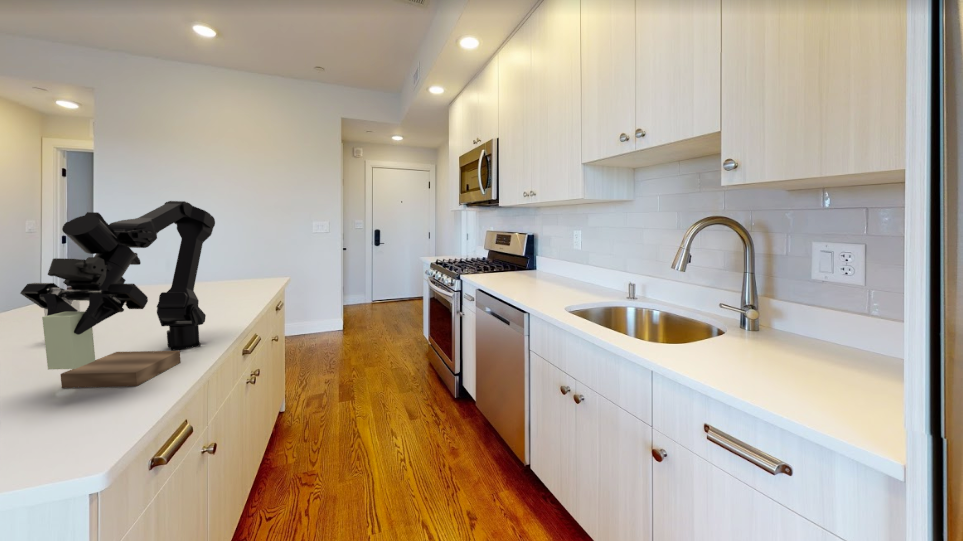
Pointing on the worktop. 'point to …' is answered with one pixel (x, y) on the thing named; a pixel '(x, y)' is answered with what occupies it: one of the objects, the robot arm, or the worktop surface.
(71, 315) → the block
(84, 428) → the worktop surface
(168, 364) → the base
